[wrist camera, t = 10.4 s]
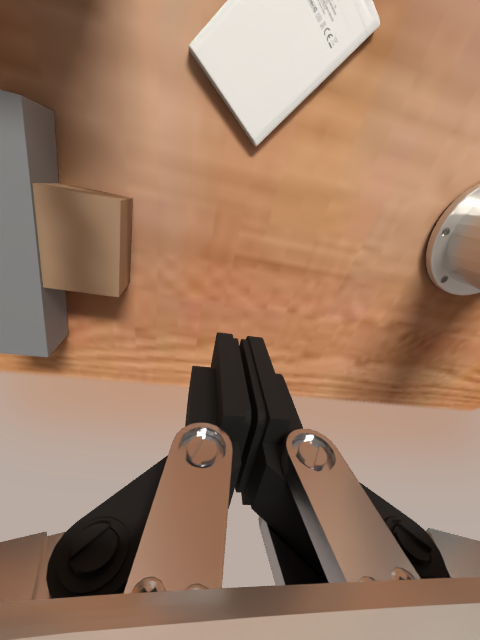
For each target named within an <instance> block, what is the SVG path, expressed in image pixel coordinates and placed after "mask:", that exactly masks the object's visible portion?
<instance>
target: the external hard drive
mask: <svg viewBox="0 0 480 640" xmlns="http://www.w3.org/2000/svg"><path fill="white" fill-rule="evenodd" d="M379 26H380V20H379V16H378V14H377V11H376V8H375V6H374V3H373V1H372V0H227V2H226V3H225V4H224V5H223V6H222V7H221V9H220V10H219V11H218V12H217V13H216V14H215V15H214V17H213V18H212V19H211V20H210V21H209V22H208V24H207V25H206V26H205V27H204V28H203V29H202V30H201V32H200V33H199V34H198V35H197V36H196V37H195V38H194V40H193V41H192V42H191V43H190V44H189V51H190V53H191V54H192V56H193V57H194V59H195V60H196V61H197V63H198V64H199V66H200V67H201V69H202V70H203V72H204V73H205V75H206V76H207V77H208V79H209V80H210V82H211V83H212V85H213V86H214V88H215V89H216V91H217V92H218V94H219V95H220V97H221V98H222V99H223V101H224V102H225V104H226V105H227V107H228V108H229V110H230V111H231V113H232V114H233V116H234V117H235V118H236V120H237V121H238V123H239V124H240V126H241V127H242V129H243V130H244V132H245V133H246V135H247V136H248V138H249V139H250V141H251V142H252V144H253V145H254V146H255V147H256V146H257V145H258V144H260V143H261V142H262V141H263V140H264V139H265V138H266V137H267V136H268V135H269V134H270V133H271V132H272V131H273V130H274V129H275V128H276V127H277V126H278V125H279V124H280V123H281V122H282V121H283V120H284V119H285V118H286V117H287V116H288V115H289V114H290V113H291V112H292V111H293V110H294V109H295V108H296V107H297V106H298V105H299V104H300V103H301V102H302V101H303V100H305V99H306V98H307V97H308V96H309V95H310V94H311V93H312V92H313V91H314V90H315V89H316V88H317V87H318V86H319V85H320V84H321V83H322V82H323V81H324V80H325V79H326V78H327V77H328V76H329V75H330V74H331V73H332V72H333V71H334V70H335V69H336V68H337V67H338V66H339V65H340V64H341V63H342V62H343V61H344V60H345V59H346V58H347V57H348V56H349V55H351V54H352V53H353V52H354V51H355V50H356V49H357V48H358V47H359V46H360V45H361V44H362V43H363V42H364V41H365V40H366V39H367V38H368V37H369V36H370V35H371V34H372V33H373V32H374V31H375V30H376V29H377V28H378V27H379Z"/></svg>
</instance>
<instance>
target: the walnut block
mask: <svg viewBox="0 0 480 640" xmlns="http://www.w3.org/2000/svg"><path fill="white" fill-rule="evenodd" d="M32 185H33V195H34V205H35V214H36V224H37V234H38V244H39V253H40V263H41V273H42V282H43V287H44V288H52V289H59V290H67V291H74V292H82V293H89V294H97V295H105V296H112V297H119V296H120V295H121V294H122V292H123V291H124V289H125V288H126V287H127V285H128V284H129V282H130V263H131V236H132V208H133V198H130V197H125V196H120V195H115V194H110V193H105V192H101V191H96V190H91V189H86V188H81V187H76V186H71V185H66V184H61V183H32Z"/></svg>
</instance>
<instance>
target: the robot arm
mask: <svg viewBox="0 0 480 640" xmlns="http://www.w3.org/2000/svg"><path fill="white" fill-rule="evenodd" d="M426 267H427V272H428V274H429V277H430V279H431V281H432V282H433V283H434V284H435V285H436V286H437V287H439V288H440V289H442V290H444V291H446V292H449V293H451V294H455V295H472V294H476V293H480V183H479V184H476V185H475V186H473V187H471V188H470V189H468V190H467V191H465V192H464V193H463V194H462V195H460V196H459V197H458V198H457V199H455V200H454V202H453V203H452V204H451V205H450V206H449V207H448V208H447V209H446V210H445V212H444V213H443V215H442V216H441V217H440V219H439V220H438V222H437V224H436V226H435V228H434V229H433V231H432V234H431V236H430V239H429V242H428V246H427V251H426ZM234 488H235V490H236V492H241V494H242V503H243V505H251V508H252V509H253V510H254V511H255V512H256V513H257V514H258V515H259V525H260V530H261V534H262V537H263V541H264V545H265V548H266V552H267V555H268V559H269V562H270V566H271V570H272V573H273V577H274V580H275V584H276V586H260V587H241V588H222V578H223V565H224V553H225V540H226V528H227V515H228V509H229V505H230V502H231V498H232V495H233V492H234ZM0 640H480V541H477V540H473V539H469V538H465V537H461V536H458V535H454V534H450V533H446V532H442V531H438V530H435V529H430V528H428V529H427V530H426V531H425V530H424V529H423V528H421V527H420V526H419V525H418V524H417V523H415V522H414V521H413V520H412V519H410V518H409V517H407V516H406V515H405V514H403V513H401V512H400V511H399V510H397V509H396V508H395V507H393V506H392V505H390V504H389V503H388V502H386V501H385V500H384V499H382V498H381V497H379V496H378V495H376V494H375V493H374V492H372V491H371V490H370V489H368V488H367V487H365V486H364V485H363V484H361V483H360V482H358V480H357V479H356V477H355V475H354V474H353V472H352V471H351V469H350V468H349V466H348V464H347V463H346V461H345V460H344V458H343V457H342V455H341V454H340V452H339V451H338V449H337V448H336V447H335V445H334V444H333V443H332V442H331V441H330V440H329V439H328V438H327V437H325V436H324V435H322V434H320V433H318V432H317V431H313V430H310V429H303V427H302V424H301V421H300V419H299V416H298V414H297V411H296V408H295V406H294V403H293V401H292V398H291V396H290V393H289V390H288V388H287V385H286V383H285V380H284V378H283V376H282V375H281V374H275V371H274V368H273V366H272V363H271V360H270V357H269V354H268V351H267V349H266V346H265V343H264V340H263V338H260V337H252V336H247V338H246V340H244V339H242V340H241V342H240V346H239V343H238V339H236V338H233V335H232V334H226V333H218V332H217V335H216V341H215V346H214V352H213V357H212V363H211V368H210V367H200V366H193V367H192V373H191V380H190V387H189V395H188V404H187V414H186V425H185V427H184V428H182V429H181V430H180V431H179V432H178V433H177V434H176V436H175V438H174V440H173V442H172V445H171V448H170V451H169V454H168V456H166V457H165V458H163V459H162V460H161V461H160V462H158V463H157V464H155V465H154V466H153V467H151V468H150V469H148V470H147V471H146V472H144V473H143V474H142V475H140V476H139V477H138V478H136V479H135V480H133V481H132V482H131V483H129V484H128V485H127V486H125V487H124V488H123V489H121V490H120V491H118V492H117V493H116V494H114V495H113V496H112V497H110V498H109V499H107V500H106V501H105V502H104V503H102V504H101V505H99V506H98V507H97V508H95V509H94V510H92V511H91V512H90V513H88V514H87V515H86V516H84V517H83V518H82V519H80V520H79V521H77V522H76V523H75V524H74V525H73V526H72V527H71V528H70V529H69V530H67V532H63V533H59V534H55V535H51V536H47V533H46V532H42V533H38V534H34V535H30V536H26V537H21V538H17V539H12V540H8V541H4V542H0Z"/></svg>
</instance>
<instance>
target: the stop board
mask: <svg viewBox="0 0 480 640" xmlns="http://www.w3.org/2000/svg"><path fill="white" fill-rule="evenodd" d="M32 183H59V178H58V162H57V146H56V131H55V115H54V111H52V110H50V109H48V108H46V107H44V106H42V105H40V104H38V103H36V102H34V101H32V100H30V99H28V98H26V97H24V96H22V95H19V94H15V93H11V92H7V91H4V90H0V353H4V354H16V355H27V356H39V357H49V356H50V355H51V353H52V352H53V351H54V350H55V349H56V348H57V347H58V345H59V344H60V343H61V342H62V341H63V340H64V338H65V337H66V336H67V335H68V318H67V303H66V290H59V289H52V288H44V287H43V282H42V273H41V263H40V253H39V244H38V234H37V224H36V214H35V205H34V195H33V185H32Z"/></svg>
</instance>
